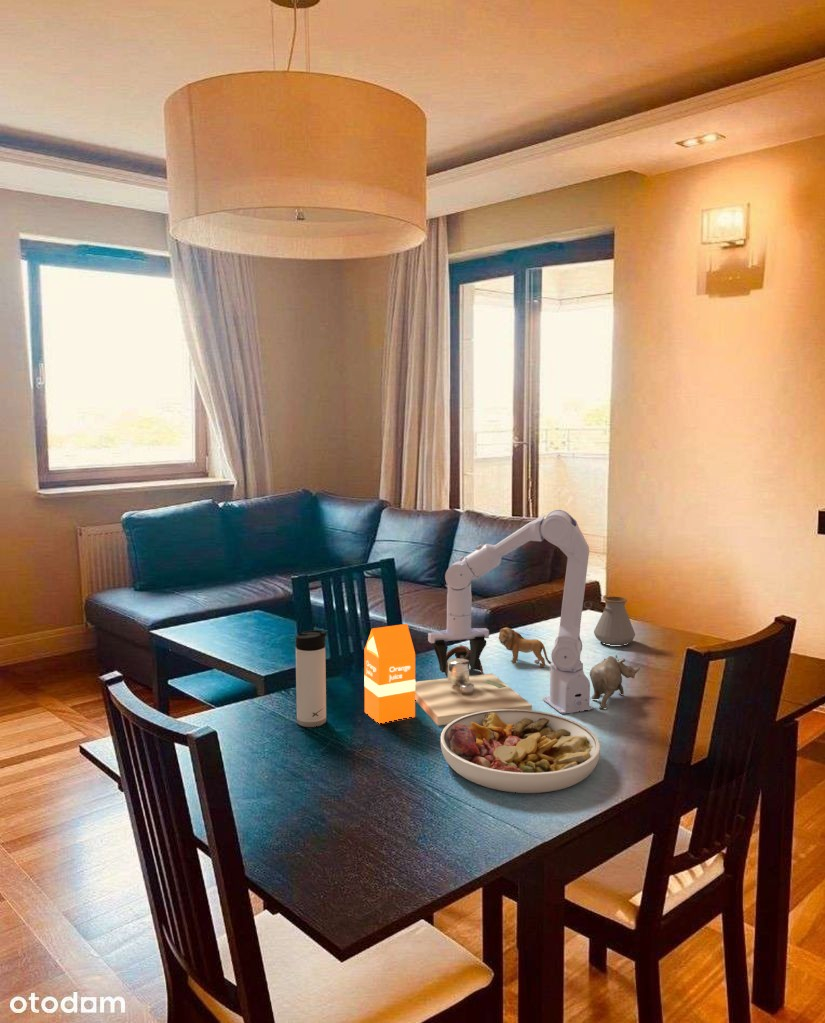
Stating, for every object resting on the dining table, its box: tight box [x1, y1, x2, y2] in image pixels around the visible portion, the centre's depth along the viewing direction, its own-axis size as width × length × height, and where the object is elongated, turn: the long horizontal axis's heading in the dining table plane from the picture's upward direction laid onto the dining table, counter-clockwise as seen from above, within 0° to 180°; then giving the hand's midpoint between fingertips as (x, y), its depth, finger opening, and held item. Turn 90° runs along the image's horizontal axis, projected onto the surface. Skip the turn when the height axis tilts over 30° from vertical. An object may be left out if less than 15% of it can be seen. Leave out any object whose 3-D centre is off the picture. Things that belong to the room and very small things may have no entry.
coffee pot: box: [583, 596, 636, 645], centre depth 227 cm, size 21×12×15 cm, turn 137°
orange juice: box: [363, 623, 416, 725], centre depth 177 cm, size 8×9×20 cm
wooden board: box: [415, 673, 533, 726], centre depth 186 cm, size 22×22×2 cm
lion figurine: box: [498, 627, 552, 668], centre depth 213 cm, size 15×5×9 cm, turn 69°
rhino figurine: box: [589, 654, 642, 708], centre depth 188 cm, size 8×14×15 cm
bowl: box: [440, 709, 601, 794], centre depth 154 cm, size 30×30×8 cm
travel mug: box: [295, 629, 328, 728], centre depth 172 cm, size 6×7×20 cm
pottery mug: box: [444, 644, 484, 676], centre depth 205 cm, size 12×10×8 cm
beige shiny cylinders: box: [447, 657, 474, 694], centre depth 189 cm, size 11×5×5 cm, turn 18°
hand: (458, 669), depth 190 cm, fingers open, 7 cm apart
